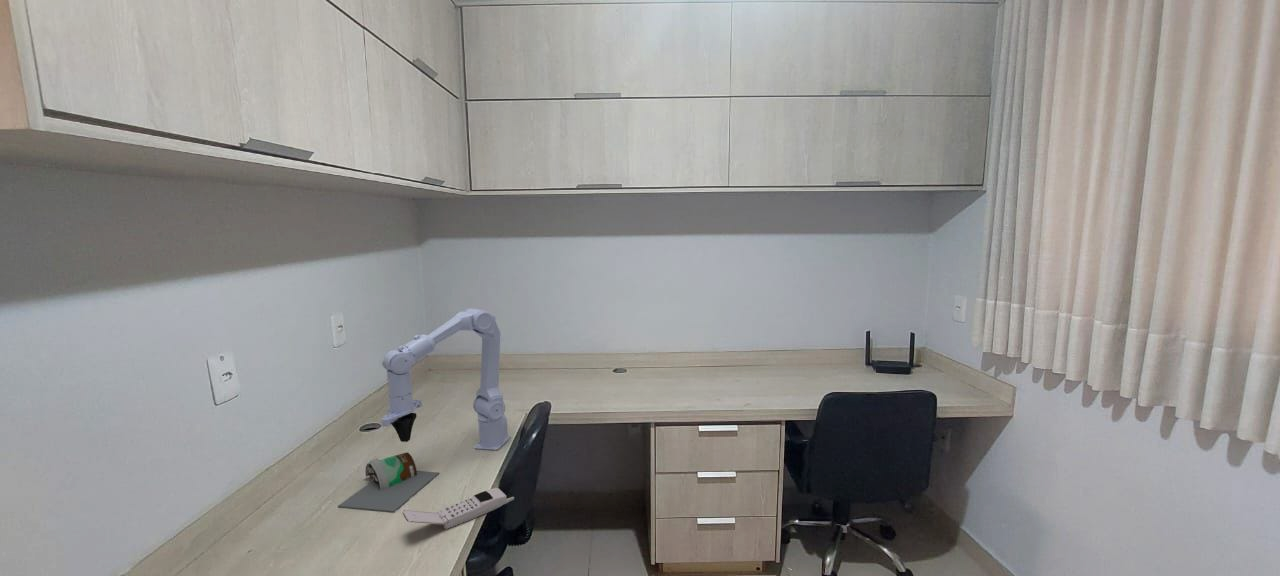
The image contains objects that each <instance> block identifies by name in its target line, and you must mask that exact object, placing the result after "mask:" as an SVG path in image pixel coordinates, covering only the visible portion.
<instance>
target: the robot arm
mask: <svg viewBox="0 0 1280 576" xmlns="http://www.w3.org/2000/svg"><path fill="white" fill-rule="evenodd" d="M460 331H474V333H475V334H477V335H478V336H480V338H481V359H480V360H481V361H480V363H481V364H480V386H479V388H478V389H477V391H476V392H475V393H476V394H475V399H474V400H473V403H472V408H473V410H474V411H475V413H476V414H477V423H478V425H477V426H478V435H479V442H478V443H477V444H476V445H475V446H474V449H475V450H489V451H490V450H491V451H498V450H499V449H500V448H501V447H503V446H504V445H505V443H507V441H509V440H510V439H511V435H509V433H508V432H509V431H508V419H507V416H506V415H505V412H506V405H505V402H504V396H503V393H502V391H501V389H500V388H499V378H500V376H499V375H500V357H501V356H500V352H501V351H500V350H501V330H500V328H499V326H498V324H497V321H496V316H495V315H494V314H492V313H491V312H490V311H488V310H482V309H479V308H478V309H477V308H475V307H466V308H464V310H462V311H459V312H457V314H456V315H454V316H452V318H450V319H449V320H448V321H446V322H445V323H443V324H442V325H441V326H439V327H437V328H436V329H435V330H433V331H432V332H430V333H429V334H420V335H419V334H416V335H414V336H413V339H412V340H409V342H407V343H405V344H404V345H399V346H397V349H395V350H394V349H393V350H391V351H388V352H387V353H386V354H385V355H384V356H383V359H382V360H383V361H381V365H382V366H383V368H384V369H385V370H386V377H387V380H386V381H387V389H388V399H389V408H388V409H387V414H386V415H385V416H384V417H383V418H381V419H380V423H381V427H390V426H392V427H393V428H394V429H395V430H394V431H396V433H397V436H398V438H399V441H400V442H403V443H407V442H410V440H411V438H412V437H411V435H412V431H413V426H414V423H415V421H416V419H417V417H418V416H417V412H415V410H416V409H418V408H421V407H422V406H423V403H422V399H414V400H413V391H412V380H411V379H412V378H411V369H412V368H413V365H414V364H415V363H417V362H419V361H421V360H423V358H425V357H427V356H428V355H429V354H430V353H432V352H434V350H435V347H436V345H437V344H438V343H441V342H442V341H444V340H446V339H447V338H449V337H451V336H453V335H454V334H456V333H457V332H460Z"/></svg>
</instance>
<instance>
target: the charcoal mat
mask: <svg viewBox="0 0 1280 576" xmlns="http://www.w3.org/2000/svg"><path fill="white" fill-rule="evenodd" d="M439 475H440V472H437V471H425V470H424V471H422V470H417V475H415V476H413V477H411V478H409V479H406V480H404V481H402V482H400V483H397V484H395V485H393V486H390V487H389V489H385V490H380V485H379V484H377V483H375V482H374V480H371V482H369V483H368V484H366V485H365V486H363V487H362V488H360V489H359V490H358V491H356V492H355V493H353V494H352V495H351V496H349V497H347V498H346V499H345V500H344V501H342V502H341V503H340V504H338V505H337V508H338V509H339V508H341V509H351V510H364V511H373V512H374V511H376V512H382V513H383V512H386V513H393V512H394V513H396V512H397V511H398V510H399V509H400V508H401V507H403V506H404V505H405V504H406V503H407V502H409V501H410V500H411V499H412V498H413V497H415V496H416V495H417V492H418V491H419V492H420V491H421V490H422V489H423V488H425V487H426V486H427V485H428V484H429V483H430V482H431V480H432V479H433V478H434V477H435V478H436V477H438V476H439ZM435 478H434V479H435ZM434 479H433V480H434ZM433 480H432V481H433ZM428 482H429V483H428ZM427 483H428V484H427ZM426 484H427V485H426ZM425 485H426V486H425ZM424 486H425V487H424ZM419 492H418V493H419ZM412 496H413V497H412ZM411 497H412V498H411ZM410 498H411V499H410ZM409 499H410V500H409ZM402 505H403V506H402ZM396 510H397V511H396ZM395 511H396V512H395Z"/></svg>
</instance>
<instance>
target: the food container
mask: <svg viewBox="0 0 1280 576" xmlns="http://www.w3.org/2000/svg"><path fill="white" fill-rule="evenodd" d="M417 471H418V470H417V467H416V464H415V460H414V458H413V457H412V455H411V454H410V453H409V452H408V451H407V452H402V453H400V454H396V455H393V456H389V457H385V458H382V459H379V458H373V459H372V460H370V461H369V462H368V463H366V466H365V478H366V477H371V478H372V479H373V480H374V482H375V483H377V484H379V485H380V490H385V489H389V487H390V486H393V485H395V484H397V483H400V482H402V481H404V480H406V479H409V478H411V477H413V476H415V475H417ZM373 480H372V481H373Z"/></svg>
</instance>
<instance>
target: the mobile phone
mask: <svg viewBox="0 0 1280 576" xmlns="http://www.w3.org/2000/svg"><path fill="white" fill-rule="evenodd" d="M514 500H515V497H514V496H511V497H508V498H507V495H506V494H505V493H504V492H503V491H502V490H501V489H500V488H499V487H494V488H490V489H487V490H484V491H480V492H478V493H475V494H473V495H472V496H471V497H468V498H466V499H463V500H461V501H458V502H456V503H454V504H451V505H449V506H446V507H444V508H442V509H440V510H437V512H436V511H435V512H434V511H433V512H432V511H424V510H423V511H422V510H413V509H403V510H402V512H401V513H402V515H403V517H404V519H405V520H406V521H407V523H418V524H430V525H441V526H442V527H443V526H444V529H445V530H449V529H451V528H454V527H456V526H459V525H461V524H464V523H467V522H468V521H471V520H474V519H476V518H478V517H480V516H483V515H486V514H488V513H490V512H493V511H495V510H497V509H498V508H500V507H502V506H504V505H505V504H508V503H510V502H512V501H514ZM463 522H464V523H463ZM458 524H459V525H458ZM455 525H456V526H455ZM453 526H454V527H453ZM450 527H451V528H450ZM448 528H449V529H448Z"/></svg>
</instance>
